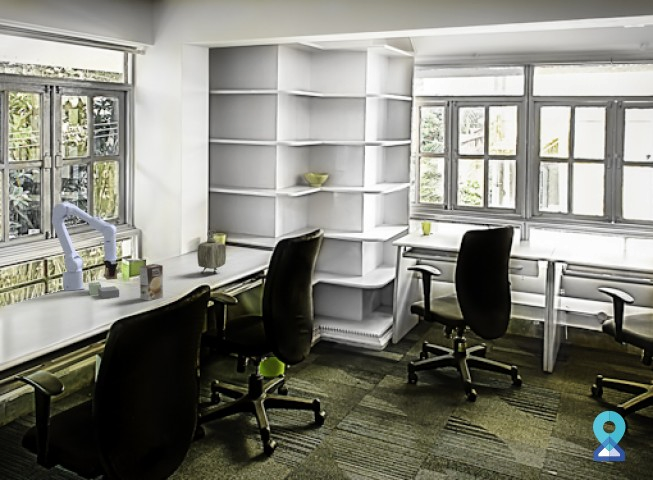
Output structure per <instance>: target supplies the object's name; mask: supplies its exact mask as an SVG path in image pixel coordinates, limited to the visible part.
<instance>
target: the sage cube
mask: <svg viewBox="0 0 653 480" xmlns="http://www.w3.org/2000/svg"><path fill="white" fill-rule="evenodd" d="M98 288H102V283H100V282H88V293H90V294H89V295H90V296H95V295H96V296H97V295H98ZM98 296H99V295H98Z"/></svg>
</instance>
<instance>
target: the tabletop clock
mask: <svg viewBox="0 0 653 480" xmlns="http://www.w3.org/2000/svg"><path fill="white" fill-rule="evenodd" d="M213 231H214V233H215V234H214V235H213V234H210V235H209V233H210V232H213ZM206 235H207V237H208V238H207V241H206V240H205V241H202V242H201V243H199V244H198V246H197V256H196V257H197V258H196V259H197V265H198V267H200V268H203V270H202V271H200V274H201V275H204V273H205V271H206V270H207V269H210V270H212V269H213V270H214V271H213V274H214V273H216V274H218V273H217V271H218V268H220V267H223V266H225V264H226V260H227V259H226V258H227V249H226V245H225V243H223V242H221V241H217V239H216V238H215V236H216V235H217V230H215V229H209V230H208V231H207V234H206ZM215 270H217V271H215Z"/></svg>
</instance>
